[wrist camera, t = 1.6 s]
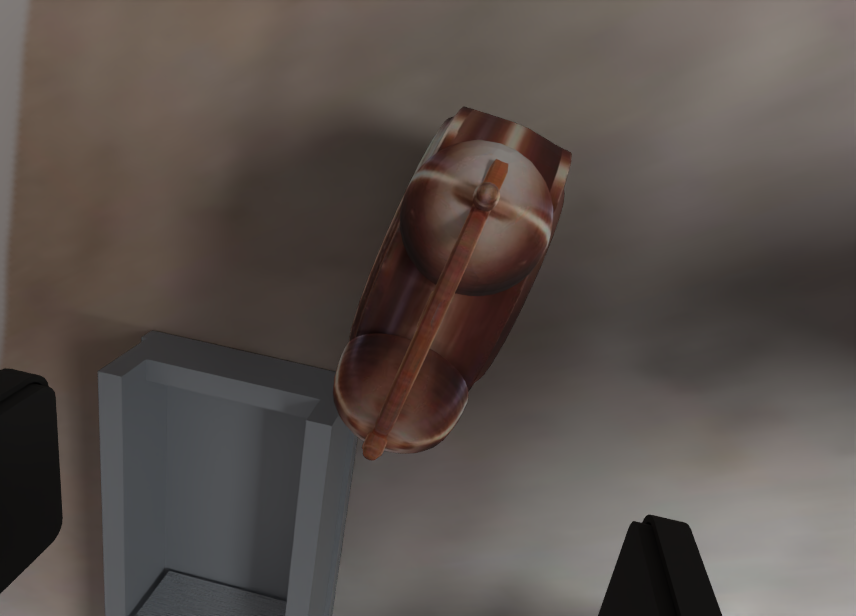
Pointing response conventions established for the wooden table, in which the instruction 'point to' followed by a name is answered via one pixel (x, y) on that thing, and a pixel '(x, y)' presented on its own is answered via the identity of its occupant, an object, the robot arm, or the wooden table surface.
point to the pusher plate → (206, 599)
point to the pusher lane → (221, 474)
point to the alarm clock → (448, 280)
